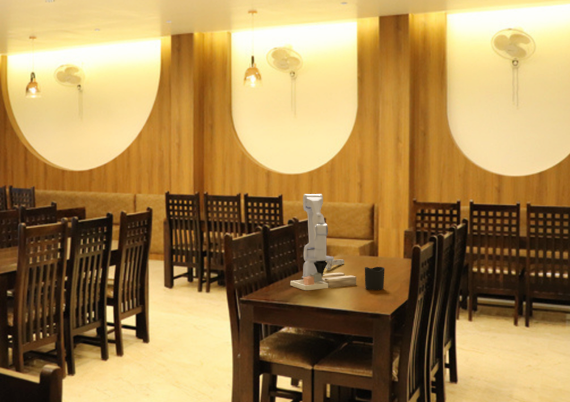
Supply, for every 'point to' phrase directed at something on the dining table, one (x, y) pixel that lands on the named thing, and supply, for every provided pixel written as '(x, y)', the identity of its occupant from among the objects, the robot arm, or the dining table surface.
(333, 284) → the grooved board
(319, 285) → the tray
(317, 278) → the matte grey cube
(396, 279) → the dining table surface
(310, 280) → the terracotta cube
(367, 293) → the dining table surface
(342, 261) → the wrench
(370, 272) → the pen holder
